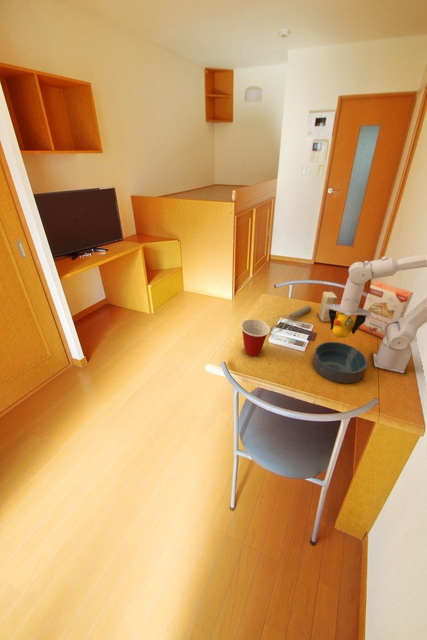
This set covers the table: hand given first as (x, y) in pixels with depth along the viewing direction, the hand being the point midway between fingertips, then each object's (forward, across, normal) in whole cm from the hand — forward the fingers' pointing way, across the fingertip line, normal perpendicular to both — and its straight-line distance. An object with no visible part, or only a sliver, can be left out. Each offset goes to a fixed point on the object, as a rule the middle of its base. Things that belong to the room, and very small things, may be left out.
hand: (342, 330), depth 106 cm
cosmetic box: (+11, -5, +25) cm, 28 cm away
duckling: (+3, 0, 0) cm, 3 cm away
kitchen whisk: (+11, -20, +16) cm, 28 cm away
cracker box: (+11, +16, +21) cm, 28 cm away
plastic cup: (+11, -30, -11) cm, 34 cm away
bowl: (+10, +1, -9) cm, 14 cm away
